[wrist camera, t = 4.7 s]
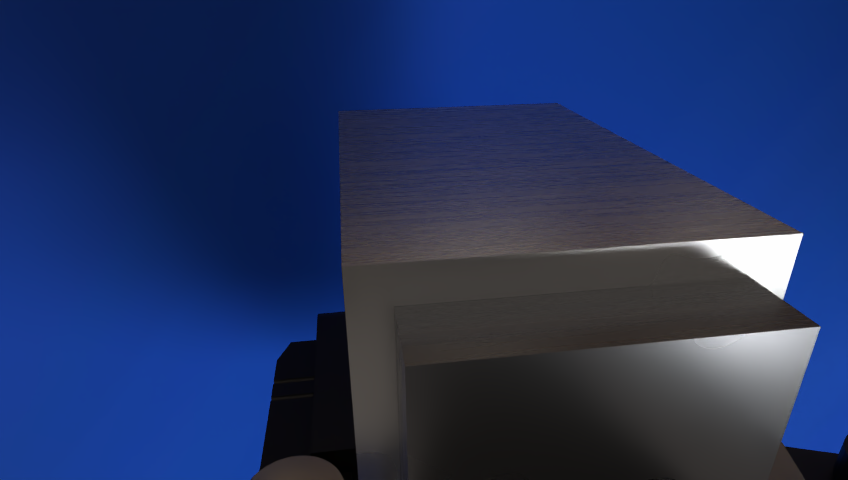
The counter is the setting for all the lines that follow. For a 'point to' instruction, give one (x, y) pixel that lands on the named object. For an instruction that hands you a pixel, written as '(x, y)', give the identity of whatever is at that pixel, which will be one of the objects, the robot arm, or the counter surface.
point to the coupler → (557, 304)
